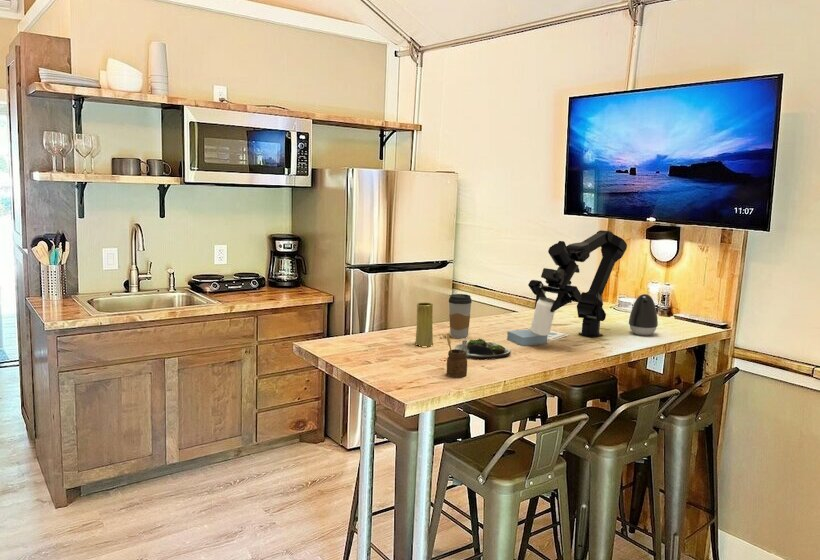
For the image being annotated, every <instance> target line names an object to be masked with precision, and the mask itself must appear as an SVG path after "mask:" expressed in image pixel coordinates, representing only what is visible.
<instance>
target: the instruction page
mask: <svg viewBox="0 0 820 560" xmlns="http://www.w3.org/2000/svg"><path fill="white" fill-rule="evenodd" d="M568 336H570V334H568V333H563V332H558V331H553V330H550V333H549V335H548V336H547V341H556V340H560V339H561V338H564V337H565V338H566V337H568Z"/></svg>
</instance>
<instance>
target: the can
mask: <svg viewBox="0 0 820 560" xmlns="http://www.w3.org/2000/svg"><path fill="white" fill-rule="evenodd" d="M546 297H547V296H546ZM546 297H540V298H539V300H538V301H537V304H536V308H535V307H534V313H533V317H532V322H531V326H530V328H529V329H530V330H531V332H532V333H534V334H536V335H540V336H548V335H549V333H550V331H551V328H552V324H553V320H554V316H555V312H556V311H554V312H551V311H550V310H551V307H552V305H553V304H554V302H555V300H556V299H555V300H554V299H552V298H550V297H547V298H546Z"/></svg>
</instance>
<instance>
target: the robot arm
mask: <svg viewBox="0 0 820 560" xmlns="http://www.w3.org/2000/svg"><path fill="white" fill-rule="evenodd" d="M627 247H628V244H627V242H626V241H625V239H623V238H622V237H620V236H618V235H617V234H615V233H613V232H612V231H610V230H602V229H601V230H597V232H596V233H594V234H592V235H591V236H589V237H588V238H586V239H584V240H582V241H581V242H580V241H579V242H574V243H569V244H567V245H566V242H565V241H564V240H558V242H556V243H553V245H551V246H550V247H548V251H547V253H548V254H549V256H550V257H551V259H552V261H553V262H554V265H556V266H558V267H557V269H553V268H545V267H544V268H543V269H542V272H541V275H540V278H541V279H544V280H545V283H546V284H547V285H544V283H543V282H542V280H539V279H538V280H537V279H531V280H530V281H529V283H528V285H527V286H528V287H529V289H530V291H531V292H532V293H533V294H534V295H535V301H534V303H535V304H534V309H535V308H536V304H537V301H538V300H539V298H540V297H546V298H548V297H547V296H546V293H551V294H557V295H556V296H557V297H556V299H555V302H554V304H553V305H552V307H551V310H550V311H551V312H554V311H555V312H556V311H558V310H559V309H560V308H563V307H564V306H565V305H567V304H572V302H575V303H577V304H576V310H577V311H576V312H577V317H578V318H579V319H582V323H581V332H578V335H580V336H584V337H587V338H596V337H601V336H603V335H604V334H603V333H601V332H600V330H601V329H600V328H601V327H600V325H601V322H605V320H606V316H607V313H606V311H605V310H604V308H603V305H604V301H603V293H604V291H605V288H606V286H607V284H608V282H609V279H610V276H611V273H612V271H613V269H614V266H615V264H616V262H618V261H619V260H620V259H622V258H623V256H624V254H625V253H626V251H627ZM599 248H601V249H600V252H601V256H602V257H601V260H600V263H599V265H598V267H597V270H596V273H595V274H594V277H593V280H592V282H591V284H590V286H589V289H588V290H587V291H586V292H584V291H583V292H580V289H579V288H578V286H576V285H572V281H571V280H572V278H573V277H574V274H575V273H577V274H580V268H579V264H577V263H576V262H578V263H579V262H580V263H584V262H586V261H587V259H589V258H590V255H591V253H592V252H594V251H595V250H596V249H597V250H598V249H599ZM555 312H554V313H555Z"/></svg>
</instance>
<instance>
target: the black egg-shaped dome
mask: <svg viewBox="0 0 820 560" xmlns="http://www.w3.org/2000/svg"><path fill="white" fill-rule="evenodd" d="M658 319H659V318H658V312H657V308H656V304H655V301H654V300H653V298H652V296H651V295H649V294H648V293H647V294H646V293H645V294H644V293H642V294H640V295H638V297H637V298H636V300H635V301H634V303H633V305H632V309H631V311H630V314H629V319H628V325H629V329H630V330H631V332H632V333H633V334H635V335H637V336H643V335H644V336H651V335H653V334H654V333H655V332H656V329H657V327H658V325H659V324H658V322H659V321H658Z"/></svg>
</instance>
